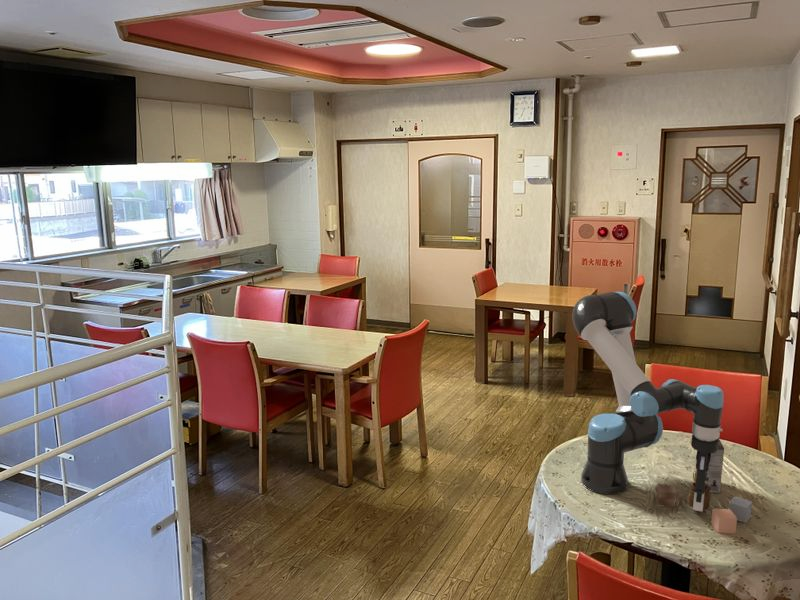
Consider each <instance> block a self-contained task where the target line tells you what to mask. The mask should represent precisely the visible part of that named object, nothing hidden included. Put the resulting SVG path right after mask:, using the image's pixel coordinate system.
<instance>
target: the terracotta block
mask: <svg viewBox="0 0 800 600" xmlns="http://www.w3.org/2000/svg"><path fill="white" fill-rule="evenodd" d="M737 522H738V520H737V517H736V516H735V515H734V514H733V512H732V511H731V510H730V509H729V508H712V513H711V523H710V524H711V525H712V527H713V528H714V529H715V531H716V532H717V533H718V534H736V531H737V524H738V523H737Z"/></svg>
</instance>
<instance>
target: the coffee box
mask: <svg viewBox="0 0 800 600" xmlns="http://www.w3.org/2000/svg"><path fill="white" fill-rule="evenodd" d="M718 439H719V447H718V450H717V451H716V452H714V453H711V459H710V462H709V468H708V471H707V472H708V473H709V474H708V473H707V475H706V477H707V478H708V477H709V475H710V478H709V480H710V481H706V484H708V485H709V487H710V491H709V492H710V493H714V494H715V493H716V494H718V493H719V494H720V493H721V484H722V475H723V465H724V458H725V457H724V455H725V447H724V445H723V443H722V442H721V440H720V437H719V438H718ZM696 462H697V460H696V459H695V463H696ZM694 471H695V472H694V473H695V474H697V469H696V468H695V470H694ZM695 474H694V475H695Z"/></svg>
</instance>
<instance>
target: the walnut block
mask: <svg viewBox="0 0 800 600" xmlns="http://www.w3.org/2000/svg"><path fill="white" fill-rule="evenodd" d="M676 495H677V493H676V487H675V485H673V484H672V485H671V484H662V483H657V492H656V502H657V506H659V507H666V508H667V507H668V508H675V507H676Z"/></svg>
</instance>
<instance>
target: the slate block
mask: <svg viewBox="0 0 800 600" xmlns="http://www.w3.org/2000/svg"><path fill="white" fill-rule="evenodd" d="M752 506H753V501H752V500H749V499H745V498H742V497H740V496H733V497H732V498H731V500H729V502H728V509H730V510H731V511H732V512H733V514H734V515H735V516H736V517H737V522H741V523H744V524H746V523H747V522H748V521H749V519H750V518H751V515H752Z"/></svg>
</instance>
